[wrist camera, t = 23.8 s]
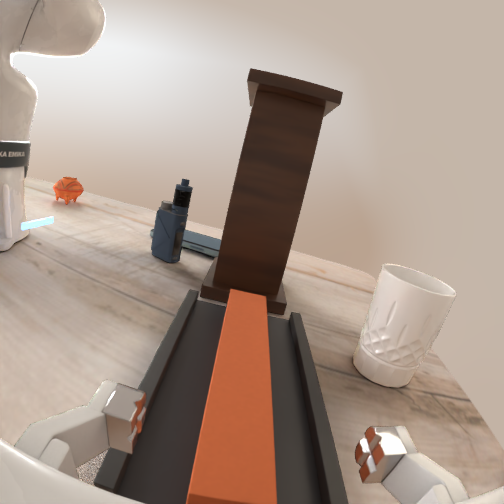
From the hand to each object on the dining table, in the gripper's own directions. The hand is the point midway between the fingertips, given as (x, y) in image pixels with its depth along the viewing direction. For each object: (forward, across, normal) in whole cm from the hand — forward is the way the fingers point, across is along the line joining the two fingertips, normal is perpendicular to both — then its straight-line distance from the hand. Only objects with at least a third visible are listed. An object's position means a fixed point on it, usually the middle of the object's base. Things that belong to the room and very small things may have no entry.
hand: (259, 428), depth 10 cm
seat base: (+11, 0, +7) cm, 13 cm away
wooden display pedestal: (+32, 0, +7) cm, 33 cm away
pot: (+58, +45, +7) cm, 74 cm away
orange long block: (+10, 0, +6) cm, 11 cm away
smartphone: (+47, +10, +7) cm, 48 cm away
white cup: (+17, -15, +7) cm, 24 cm away
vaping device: (+36, +12, +7) cm, 39 cm away
